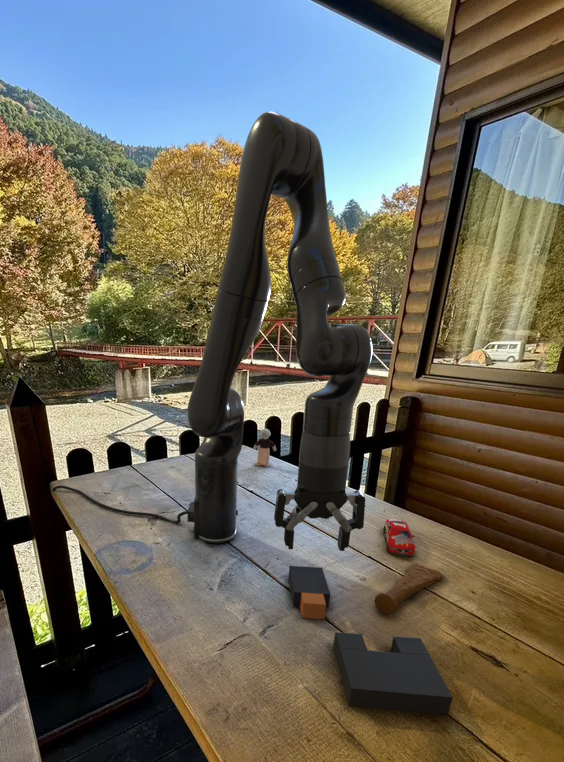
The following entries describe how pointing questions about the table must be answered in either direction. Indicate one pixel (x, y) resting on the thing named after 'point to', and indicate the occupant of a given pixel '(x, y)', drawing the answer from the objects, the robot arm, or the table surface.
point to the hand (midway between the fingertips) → (315, 547)
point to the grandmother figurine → (264, 448)
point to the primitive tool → (406, 587)
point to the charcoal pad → (309, 591)
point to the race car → (398, 537)
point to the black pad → (391, 676)
